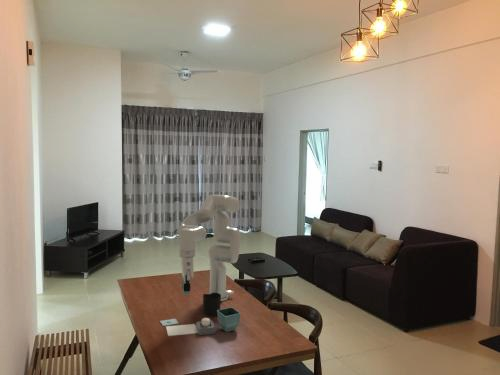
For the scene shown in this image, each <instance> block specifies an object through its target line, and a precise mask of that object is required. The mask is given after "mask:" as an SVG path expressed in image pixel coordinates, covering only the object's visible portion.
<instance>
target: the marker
mask: <svg viewBox="0 0 500 375" xmlns="http://www.w3.org/2000/svg"><path fill="white" fill-rule="evenodd" d="M185 277H187V276H185ZM190 292H191V290H190V291H185V292H184V277H183V276H182V294H184V295H188V294H190Z"/></svg>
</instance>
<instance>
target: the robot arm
mask: <svg viewBox="0 0 500 375" xmlns="http://www.w3.org/2000/svg"><path fill="white" fill-rule="evenodd" d="M239 208H240V202H239V199H238V198H237V197H234V196H230V195H227V194H226V195H225V194H210V195H208V196H207V197H206V198H205V200H204V202H203V203H202V205H201V207H200V208H199V209H198V210H197V211H195V212H193V213H191V214H189V215H188V216H185V218H184V219H183V221H182V222H181V224H180V226H179V228H178V229H177V230H178V231H177V232H178V233H177V235H178V237H179V255H178V257H179V258H181V265H180V267H181V268H180V269H181V270H180V271H181V275H182V278H183V277H184V292H185V291H190V292H191V278H194V275H195V274H194V258H195V257H196V242H202V241H204V240H205V239H206V237H207V233H208V232H207V229H206V228H205V227H203V226H200V224H201V225H203V224H205V223H208V222H211V221H212V220H213V218H214V228H213V241H215V242H216V243H219V244H214V245H212V246H210V248H209V249H208V257H209V258H208V259H209V294H211V293H219V294H221V302H224V301H227V300H228V299H229V295H234V293H235V292H234V290H227V289H226V288H227V266H226V264H227V263H228V264H236V263H237V262H238V259H239V254H240V244H241V231H240V230H239V228H236V227H232V226H231V227H230V219H231V218H230V216H229V213H235V212H237V211H238V210H239ZM220 243H221V244H222V245H221V244H220ZM224 244H228V245H224ZM229 244H230V245H229ZM185 276H187V277H185Z"/></svg>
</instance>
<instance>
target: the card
mask: <svg viewBox="0 0 500 375" xmlns="http://www.w3.org/2000/svg"><path fill="white" fill-rule="evenodd" d="M159 322H160V324H161V325H162V327H167V326H175V325H179V323H180V322H178V320H177V319H176V318H171V319H164V320H159Z"/></svg>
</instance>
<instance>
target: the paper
mask: <svg viewBox="0 0 500 375" xmlns="http://www.w3.org/2000/svg"><path fill="white" fill-rule="evenodd" d="M165 328H166V329H165V330H166V332H167V336H168V337H173V336H174V337H175V336H182V335H185V336H186V335H193V334H198V331H197V329H196V323H192V324H190V323H189V324H180V325H179V324H177V325H168V326H165Z"/></svg>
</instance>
